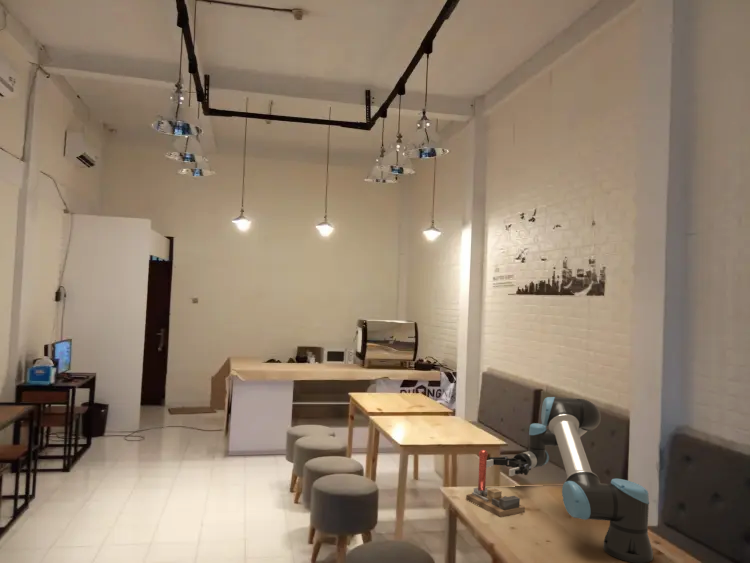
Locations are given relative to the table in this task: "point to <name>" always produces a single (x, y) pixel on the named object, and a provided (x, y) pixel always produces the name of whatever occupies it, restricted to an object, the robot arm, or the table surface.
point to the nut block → (493, 494)
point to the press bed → (498, 504)
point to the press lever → (482, 474)
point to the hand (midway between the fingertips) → (496, 468)
